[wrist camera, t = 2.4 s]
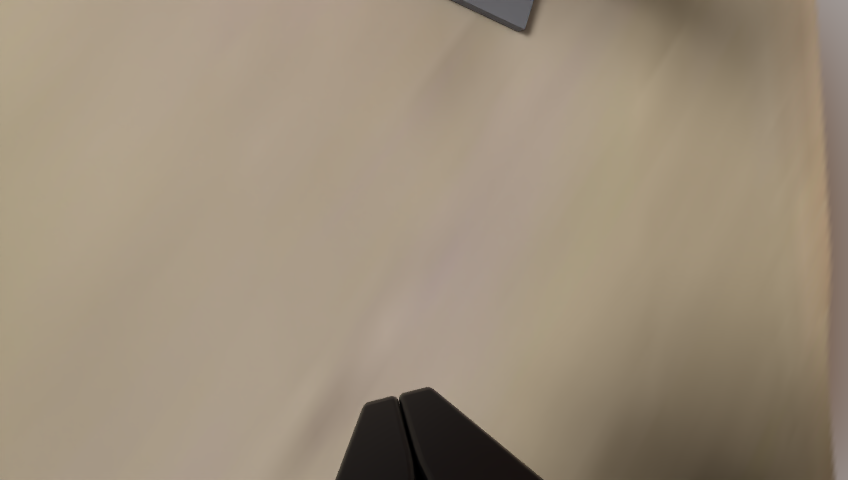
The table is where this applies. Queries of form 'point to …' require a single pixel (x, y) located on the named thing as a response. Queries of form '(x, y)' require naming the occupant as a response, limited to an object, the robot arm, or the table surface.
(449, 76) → the table surface
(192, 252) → the table surface
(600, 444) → the table surface
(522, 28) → the mat
